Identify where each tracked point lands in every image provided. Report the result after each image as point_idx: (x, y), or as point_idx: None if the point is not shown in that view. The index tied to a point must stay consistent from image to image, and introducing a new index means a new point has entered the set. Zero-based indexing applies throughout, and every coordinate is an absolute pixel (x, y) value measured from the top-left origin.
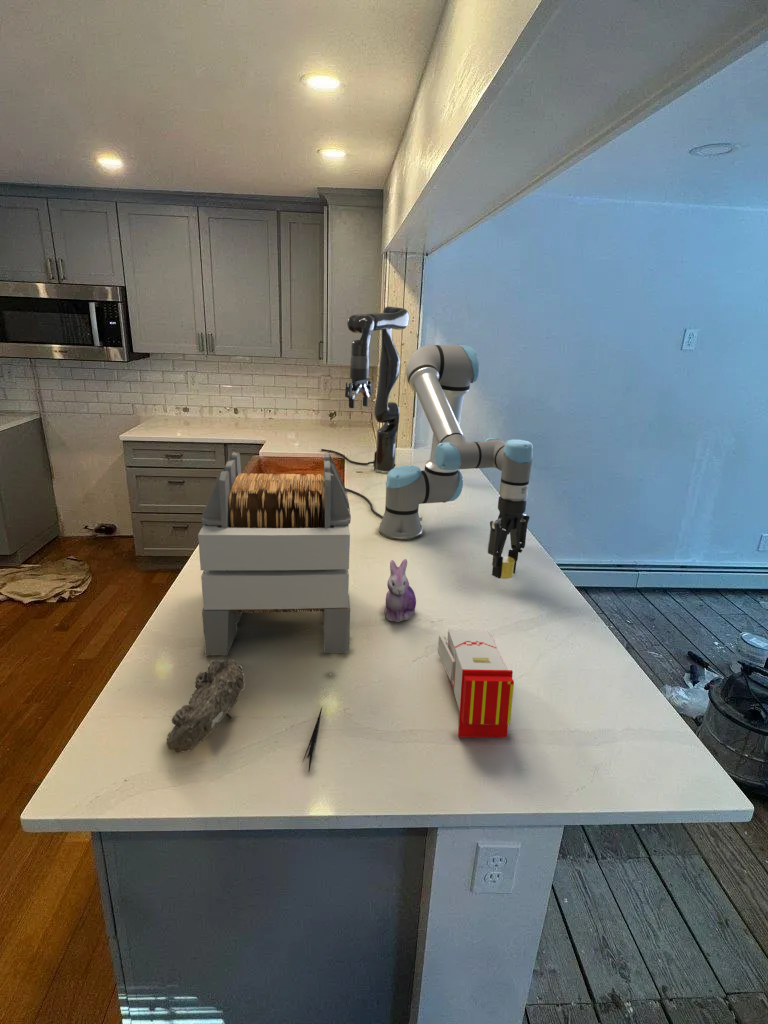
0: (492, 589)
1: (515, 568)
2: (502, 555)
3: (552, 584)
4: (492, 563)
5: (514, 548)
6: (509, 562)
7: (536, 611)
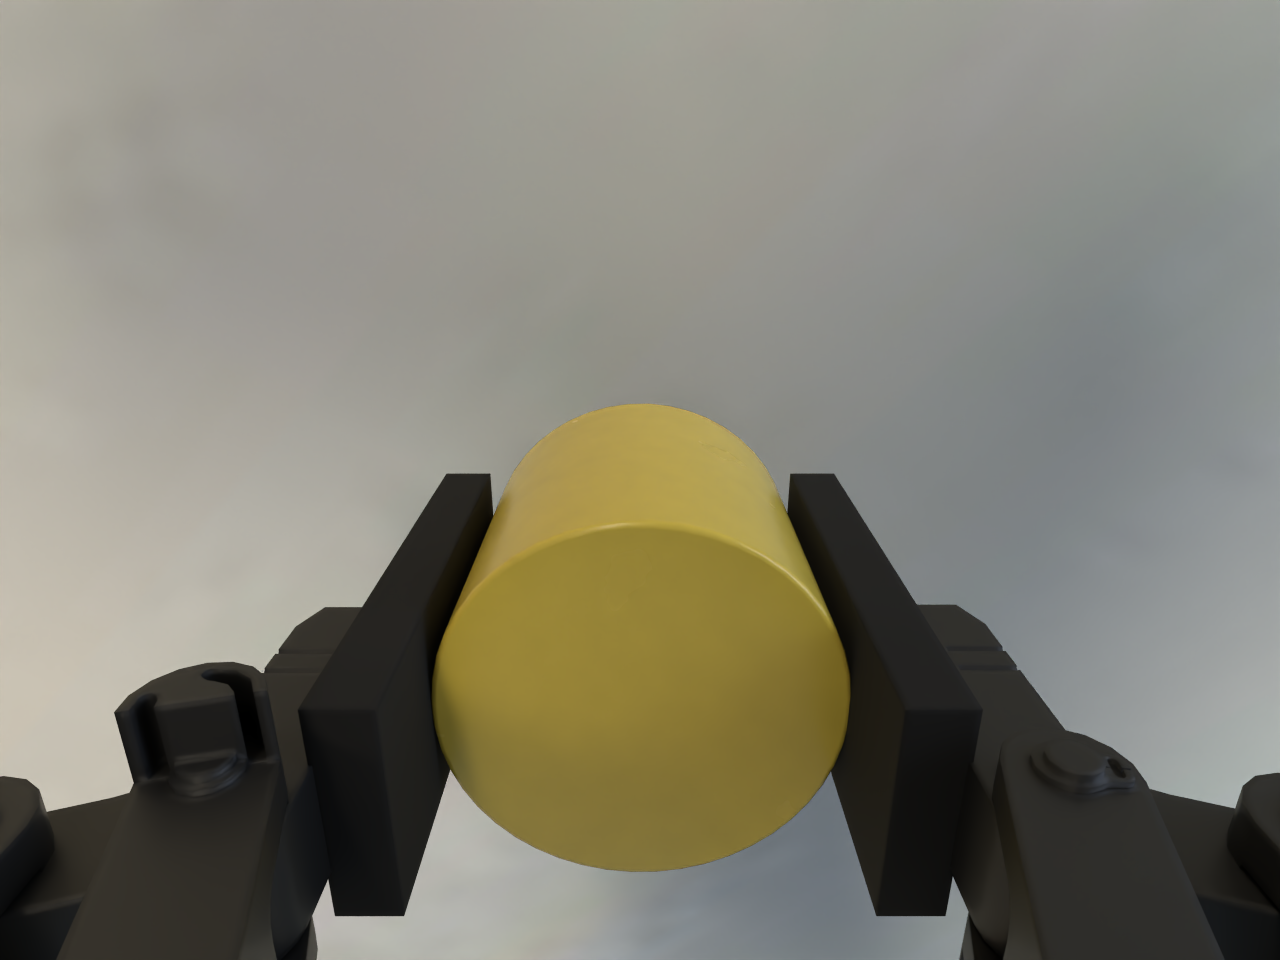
0: (502, 432)
1: None
2: (737, 553)
3: (1222, 687)
4: (289, 645)
5: (993, 883)
6: (585, 852)
7: (575, 926)
